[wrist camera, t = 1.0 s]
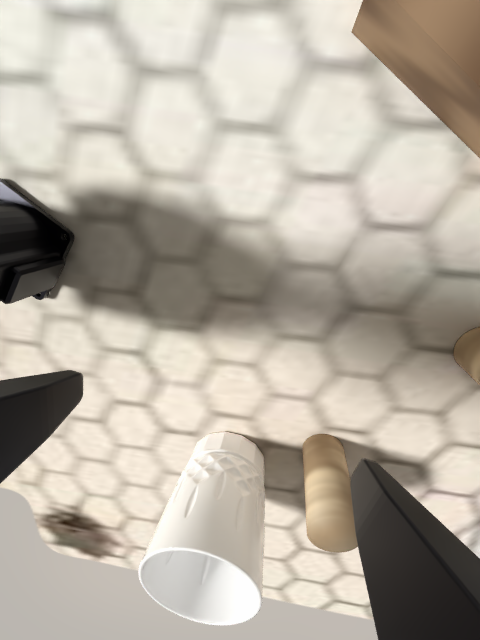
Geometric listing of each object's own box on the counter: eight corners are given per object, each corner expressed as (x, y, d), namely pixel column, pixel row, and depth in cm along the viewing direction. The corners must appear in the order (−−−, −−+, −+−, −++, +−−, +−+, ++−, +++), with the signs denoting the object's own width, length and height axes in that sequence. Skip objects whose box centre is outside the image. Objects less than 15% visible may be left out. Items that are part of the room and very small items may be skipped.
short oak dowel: (294, 448, 25) (295, 532, 19) (322, 427, 24) (333, 509, 18) (323, 470, 26) (334, 559, 19) (352, 450, 25) (374, 538, 18)
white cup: (202, 412, 26) (154, 530, 16) (285, 447, 26) (283, 584, 16) (178, 469, 29) (126, 594, 20) (252, 500, 29) (234, 639, 20)
